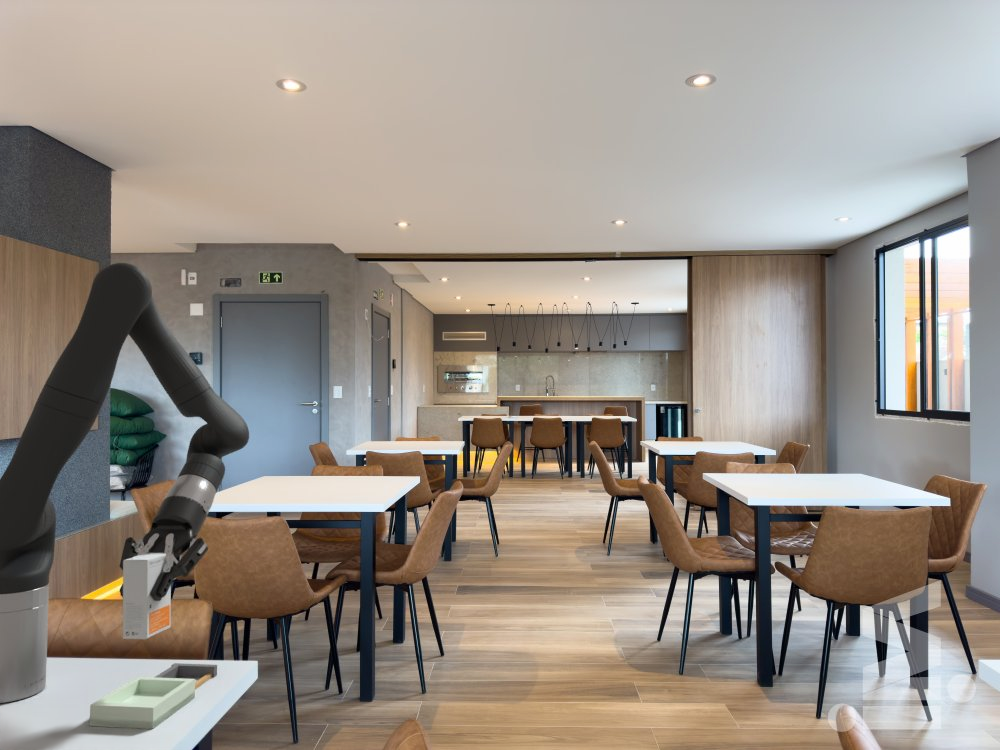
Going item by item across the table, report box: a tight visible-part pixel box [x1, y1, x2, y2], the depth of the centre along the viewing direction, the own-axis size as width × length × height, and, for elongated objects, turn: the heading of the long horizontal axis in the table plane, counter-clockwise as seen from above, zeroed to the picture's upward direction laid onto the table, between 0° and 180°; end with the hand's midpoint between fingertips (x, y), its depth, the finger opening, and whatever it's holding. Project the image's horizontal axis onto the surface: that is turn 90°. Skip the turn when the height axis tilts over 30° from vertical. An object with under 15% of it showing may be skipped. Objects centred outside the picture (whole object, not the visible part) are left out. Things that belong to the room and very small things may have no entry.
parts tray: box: [89, 676, 196, 730], centre depth 106 cm, size 10×11×3 cm
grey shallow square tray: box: [155, 662, 218, 690], centre depth 116 cm, size 8×9×2 cm
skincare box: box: [122, 553, 172, 640], centre depth 107 cm, size 6×4×12 cm
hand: (140, 597), depth 105 cm, fingers closed on skincare box, 4 cm apart
